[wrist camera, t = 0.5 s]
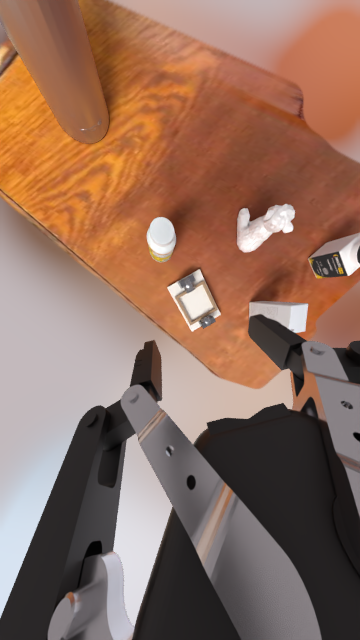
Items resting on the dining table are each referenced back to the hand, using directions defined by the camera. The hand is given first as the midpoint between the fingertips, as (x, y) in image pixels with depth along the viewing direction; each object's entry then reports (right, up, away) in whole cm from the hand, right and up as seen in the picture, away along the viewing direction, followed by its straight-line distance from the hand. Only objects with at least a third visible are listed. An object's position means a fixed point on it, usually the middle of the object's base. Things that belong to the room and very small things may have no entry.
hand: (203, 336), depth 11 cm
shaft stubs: (+2, +6, +22) cm, 23 cm away
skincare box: (+20, +4, +27) cm, 34 cm away
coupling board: (+2, +6, +23) cm, 24 cm away
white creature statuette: (+15, +22, +22) cm, 35 cm away
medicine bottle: (+39, +19, +27) cm, 51 cm away
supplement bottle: (-6, +18, +20) cm, 27 cm away
